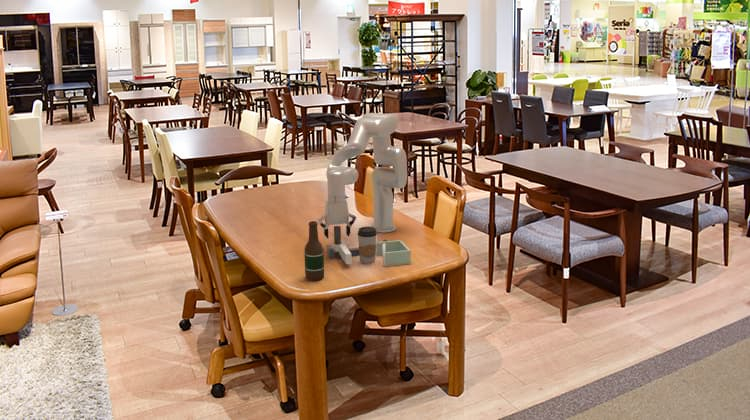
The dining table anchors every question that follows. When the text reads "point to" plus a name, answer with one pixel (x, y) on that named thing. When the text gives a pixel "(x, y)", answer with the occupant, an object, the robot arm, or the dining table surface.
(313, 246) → the beer bottle
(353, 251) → the rail
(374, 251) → the coffee cup
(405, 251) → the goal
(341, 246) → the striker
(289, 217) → the dining table surface
